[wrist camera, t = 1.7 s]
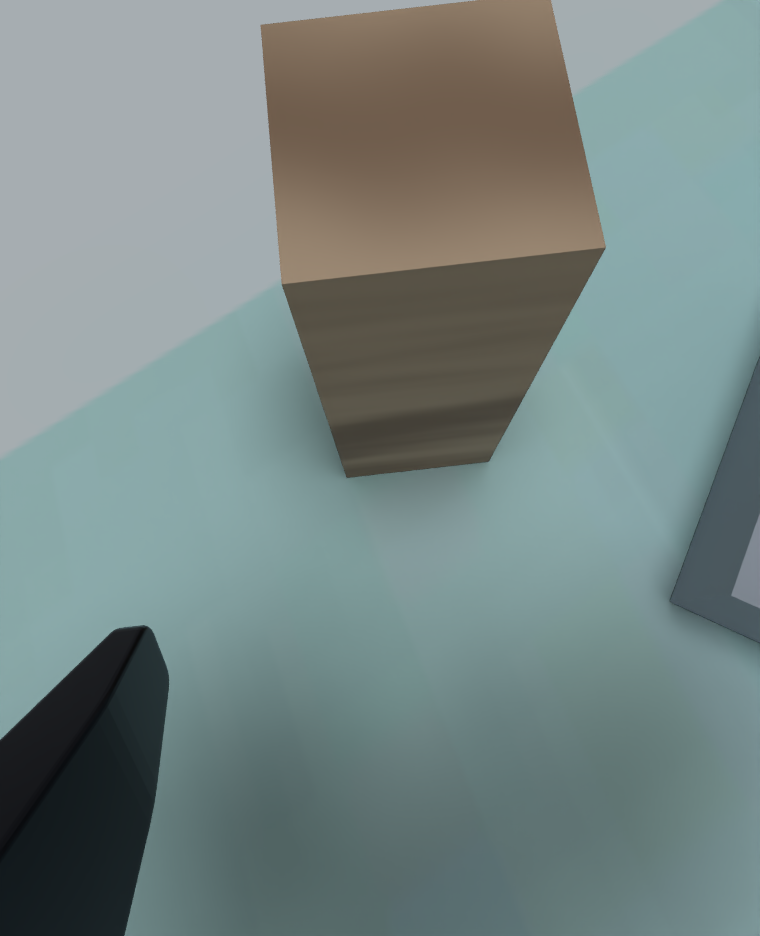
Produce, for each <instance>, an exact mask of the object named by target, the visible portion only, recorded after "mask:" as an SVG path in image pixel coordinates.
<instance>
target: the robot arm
mask: <svg viewBox="0 0 760 936" xmlns="http://www.w3.org/2000/svg"><path fill="white" fill-rule="evenodd" d="M168 691H169V675H168V670H167V667H166V664H165V661H164V659H163V656H162V654H161V651H160V648H159V646H158V643H157V641H156V638H155V636H154V633H153V631H152V630H151V629H150V628H149V627H148V626H145V625H141V626H132V627H124V628H119V629H116V630H114V631H113V632H111V633H110V634H109V635H108V636H107V637H106V638H105V639H104V640H103V641H102V642H101V643H100V644H99V645H98V646H97V647H96V648H95V649H94V650H93V651H92V652H91V653H90V654H88V655H87V656H86V657H85V658H84V659H83V660H82V661H81V662H80V663H79V664H78V665H77V666H76V667H75V668H74V669H73V670H72V671H71V672H70V673H69V674H68V675H67V676H66V677H65V678H64V679H63V680H62V681H61V682H60V683H59V684H58V685H56V686H55V687H54V688H53V689H52V690H51V691H50V692H49V693H48V694H47V695H46V696H45V697H44V698H43V699H42V700H41V701H40V702H39V703H38V704H37V705H36V706H35V707H34V708H33V709H32V710H31V711H30V712H29V713H28V714H27V715H26V716H24V717H23V718H22V719H21V720H20V721H19V722H18V723H17V724H16V725H15V726H14V727H13V728H12V729H11V730H10V731H9V732H8V733H7V734H6V735H5V736H4V737H3V738H2V739H1V740H0V936H124V935H125V930H126V926H127V922H128V917H129V913H130V909H131V905H132V900H133V896H134V892H135V887H136V883H137V879H138V874H139V870H140V866H141V862H142V857H143V853H144V849H145V844H146V840H147V836H148V832H149V827H150V823H151V818H152V813H153V808H154V803H155V796H156V789H157V782H158V774H159V765H160V757H161V749H162V740H163V732H164V724H165V716H166V707H167V699H168Z"/></svg>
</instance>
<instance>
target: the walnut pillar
mask: <svg viewBox="0 0 760 936" xmlns="http://www.w3.org/2000/svg"><path fill="white" fill-rule="evenodd" d="M261 35H262V47H263V60H264V72H265V84H266V96H267V108H268V121H269V134H270V145H271V158H272V170H273V183H274V195H275V207H276V220H277V232H278V244H279V255H280V269H281V281H282V286H283V289H284V292H285V295H286V298H287V301H288V304H289V307H290V310H291V313H292V316H293V319H294V322H295V325H296V328H297V331H298V334H299V337H300V340H301V343H302V346H303V349H304V352H305V355H306V358H307V361H308V364H309V367H310V370H311V373H312V376H313V379H314V382H315V385H316V388H317V391H318V394H319V397H320V400H321V403H322V406H323V408H324V411H325V414H326V417H327V420H328V423H329V426H330V429H331V432H332V435H333V438H334V441H335V444H336V447H337V450H338V453H339V456H340V459H341V462H342V465H343V468H344V471H345V474H346V477H347V478H349V477H358V476H366V475H375V474H384V473H393V472H402V471H410V470H419V469H428V468H437V467H445V466H454V465H463V464H472V463H481V462H489V460H490V458H491V456H492V455H493V453H494V451H495V449H496V447H497V445H498V444H499V442H500V440H501V438H502V436H503V434H504V433H505V431H506V429H507V427H508V425H509V424H510V422H511V420H512V418H513V416H514V414H515V413H516V411H517V409H518V407H519V405H520V403H521V402H522V400H523V398H524V396H525V394H526V392H527V391H528V389H529V387H530V385H531V383H532V381H533V380H534V378H535V376H536V374H537V372H538V371H539V369H540V367H541V365H542V363H543V361H544V360H545V358H546V356H547V354H548V352H549V350H550V349H551V347H552V345H553V343H554V341H555V339H556V338H557V336H558V334H559V332H560V330H561V329H562V327H563V325H564V323H565V321H566V319H567V318H568V316H569V314H570V312H571V310H572V308H573V307H574V305H575V303H576V301H577V299H578V297H579V296H580V294H581V292H582V290H583V288H584V286H585V285H586V283H587V281H588V279H589V277H590V276H591V274H592V272H593V270H594V268H595V266H596V265H597V263H598V261H599V259H600V257H601V255H602V254H603V252H604V250H605V248H606V246H605V241H604V237H603V232H602V228H601V223H600V219H599V214H598V210H597V205H596V201H595V196H594V192H593V187H592V183H591V179H590V174H589V170H588V165H587V161H586V156H585V152H584V147H583V143H582V138H581V134H580V129H579V125H578V120H577V116H576V111H575V107H574V102H573V98H572V93H571V89H570V84H569V80H568V76H567V71H566V67H565V62H564V58H563V53H562V49H561V44H560V40H559V35H558V31H557V26H556V22H555V17H554V13H553V8H552V4H551V0H477V1H468V2H459V3H450V4H442V5H433V6H424V7H415V8H406V9H397V10H389V11H380V12H371V13H362V14H353V15H344V16H335V17H326V18H318V19H309V20H300V21H291V22H283V23H273V24H265V25H261Z"/></svg>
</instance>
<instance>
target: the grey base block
mask: <svg viewBox="0 0 760 936" xmlns="http://www.w3.org/2000/svg"><path fill="white" fill-rule="evenodd" d="M670 602H672V603H674V604H676V605H678V606H680V607H683V608H685V609H687V610H689V611H691V612H694V613H696V614H698V615H700V616H702V617H704V618H707V619H709V620H711V621H713V622H715V623H717V624H720V625H722V626H724V627H726V628H728V629H730V630H733V631H735V632H737V633H739V634H741V635H744V636H746V637H748V638H750V639H752V640H754V641H757V642H759V643H760V358H759V361H758V363H757V366H756V369H755V371H754V374H753V377H752V380H751V382H750V385H749V388H748V390H747V393H746V396H745V399H744V401H743V404H742V407H741V409H740V412H739V415H738V418H737V420H736V423H735V426H734V428H733V431H732V434H731V437H730V439H729V442H728V445H727V447H726V450H725V453H724V455H723V458H722V461H721V464H720V466H719V469H718V472H717V474H716V477H715V480H714V483H713V485H712V488H711V491H710V493H709V496H708V499H707V502H706V504H705V507H704V510H703V512H702V515H701V518H700V521H699V523H698V526H697V529H696V531H695V534H694V537H693V540H692V542H691V545H690V548H689V550H688V553H687V556H686V559H685V561H684V564H683V567H682V569H681V572H680V575H679V578H678V580H677V583H676V586H675V588H674V591H673V594H672V597H671V599H670Z"/></svg>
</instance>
